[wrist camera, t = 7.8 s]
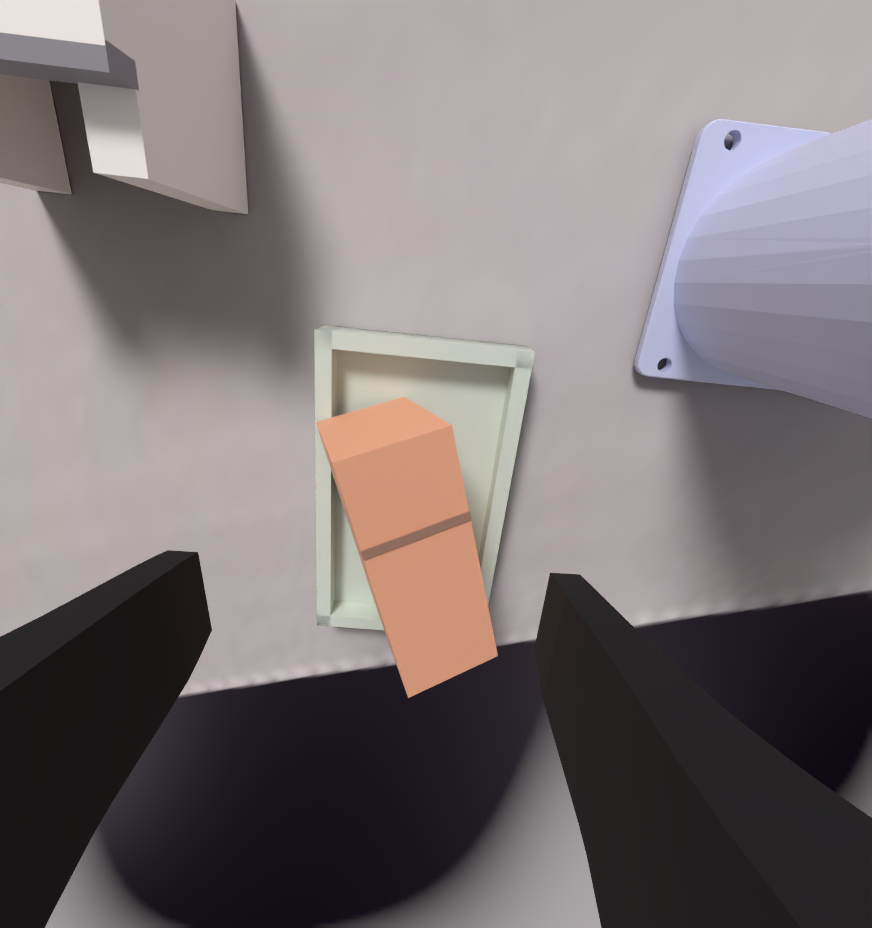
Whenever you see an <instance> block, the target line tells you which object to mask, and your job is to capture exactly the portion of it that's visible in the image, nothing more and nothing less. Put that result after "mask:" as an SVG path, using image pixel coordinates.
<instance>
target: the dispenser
mask: <svg viewBox="0 0 872 928" xmlns="http://www.w3.org/2000/svg"><path fill="white" fill-rule="evenodd" d="M49 80H50V81H58V82H67V83H75V84H78V89H79V94H80V100H81V106H82V111H83V117H84V122H85V128H86V134H87V139H88V145H89V151H90V156H91V162H92V168H93V173H96V174H99V175H102V176H106V177H109V178H112V179H115V180H118V181H121V182H125V183H128V184H131V185H134V186H137V187H140V188H144V189H147V190H150V191H153V192H156V193H159V194H163V195H166V196H169V197H172V198H175V199H178V200H182V201H185V202H188V203H191V204H194V205H197V206H201V207H204V208H207V209H210V210H214V211H223V212H232V213H241V214H248V200H247V184H246V167H245V151H244V135H243V118H242V102H241V85H240V69H239V53H238V36H237V20H236V3H235V0H0V183H4V184H9V185H13V186H18V187H22V188H26V189H31V190H35V191H44V192H53V193H62V194H71V195H72V193H71V188H70V183H69V178H68V173H67V168H66V163H65V158H64V153H63V147H62V142H61V137H60V132H59V127H58V122H57V117H56V112H55V107H54V102H53V97H52V92H51V87H50V81H49Z"/></svg>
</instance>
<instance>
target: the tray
mask: <svg viewBox="0 0 872 928" xmlns="http://www.w3.org/2000/svg"><path fill="white" fill-rule="evenodd" d="M534 354H535V352H534V351H533V350H531V349H530V348H529V347H527V346H521V345H511V344H501V343H492V342H482V341H472V340H463V339H453V338H443V337H433V336H424V335H414V334H404V333H395V332H385V331H375V330H365V329H356V328H346V327H336V326H327V325H324V326H322V327H319V328H317V329H314V356H315V455H316V555H317V625H320V626H333V627H346V628H359V629H372V630H384V628H383V625H382V623H381V620H380V617H379V614H378V611H377V608H376V605H375V602H374V599H373V596H372V593H371V590H370V587H369V584H368V581H367V578H366V575H365V572H364V569H363V566H362V562H361V559H360V556H359V553H358V550H357V547H356V544H355V541H354V538H353V535H352V532H351V529H350V526H349V523H348V520H347V517H346V514H345V511H344V507H343V504H342V501H341V498H340V495H339V492H338V489H337V486H336V483H335V480H334V477H333V474H332V471H331V468H330V465H329V462H328V459H327V455H326V452H325V449H324V446H323V443H322V440H321V437H320V434H319V431H318V428H317V425H316V422H318V421H321V420H325V419H328V418H332V417H335V416H339V415H342V414H346V413H349V412H353V411H356V410H360V409H363V408H366V407H370V406H373V405H377V404H380V403H384V402H387V401H391V400H394V399H398V398H401V397H406V398H408V399H409V400H411V401H413V402H414V403H416V404H418V405H419V406H421V407H423V408H424V409H426V410H428V411H429V412H431V413H433V414H434V415H436V416H438V417H439V418H441V419H443V420H444V421H446V422H447V423H449V424H451V425H452V428H453V433H454V438H455V443H456V448H457V453H458V458H459V463H460V468H461V473H462V478H463V483H464V488H465V493H466V498H467V503H468V508H469V511H470V514H471V519H472V520H471V523H472V528H473V533H474V538H475V543H476V548H477V553H478V558H479V563H480V568H481V573H482V578H483V583H484V588H485V593H486V598H487V603H489V598H490V593H491V587H492V582H493V576H494V571H495V565H496V560H497V555H498V549H499V544H500V538H501V533H502V528H503V522H504V517H505V511H506V506H507V501H508V495H509V490H510V484H511V479H512V473H513V468H514V463H515V457H516V452H517V446H518V441H519V436H520V430H521V425H522V419H523V414H524V408H525V403H526V398H527V392H528V387H529V381H530V376H531V371H532V365H533V360H534Z"/></svg>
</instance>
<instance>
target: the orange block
mask: <svg viewBox="0 0 872 928" xmlns="http://www.w3.org/2000/svg"><path fill="white" fill-rule="evenodd" d="M316 425H317V428H318V431H319V434H320V437H321V440H322V443H323V446H324V449H325V452H326V455H327V459H328V462H329V465H330V468H331V471H332V474H333V477H334V480H335V483H336V486H337V489H338V492H339V495H340V498H341V501H342V504H343V507H344V511H345V514H346V517H347V520H348V523H349V526H350V529H351V532H352V535H353V538H354V541H355V544H356V547H357V550H358V553H359V556H360V559H361V562H362V566H363V569H364V572H365V575H366V578H367V581H368V584H369V587H370V590H371V593H372V596H373V599H374V602H375V605H376V608H377V611H378V614H379V617H380V620H381V623H382V625H383V628H384V631H385V634H386V637H387V639H388V642H389V645H390V648H391V651H392V653H393V656H394V659H395V662H396V665H397V667H398V670H399V673H400V676H401V679H402V681H403V684H404V687H405V690H406V693H407V696H408V698H409V697H411V696H413V695H416V694H418V693H420V692H422V691H424V690H426V689H428V688H430V687H433V686H435V685H436V684H439V683H441V682H443V681H445V680H447V679H450V678H452V677H454V676H456V675H458V674H460V673H462V672H464V671H467V670H469V669H471V668H473V667H475V666H477V665H479V664H482V663H484V662H486V661H488V660H490V659H492V658H494V657H496V656H498V654H497V649H496V644H495V639H494V634H493V629H492V624H491V618H490V613H489V608H488V603H487V598H486V593H485V588H484V583H483V578H482V573H481V568H480V563H479V558H478V553H477V548H476V543H475V538H474V533H473V528H472V523H471V520H472V519H471V514H470V511H469V508H468V503H467V498H466V493H465V488H464V483H463V478H462V473H461V468H460V463H459V458H458V453H457V448H456V443H455V438H454V433H453V428H452V425H451V424H449V423H447V422H446V421H444V420H443V419H441V418H439V417H438V416H436V415H434V414H433V413H431V412H429V411H428V410H426V409H424V408H423V407H421V406H419V405H418V404H416V403H414V402H413V401H411V400H409V399H408V398H406V397H401V398H398V399H394V400H391V401H387V402H384V403H380V404H377V405H373V406H370V407H366V408H363V409H360V410H356V411H353V412H349V413H346V414H342V415H339V416H335V417H332V418H328V419H325V420H321V421H318V422H316Z"/></svg>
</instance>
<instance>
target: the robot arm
mask: <svg viewBox="0 0 872 928" xmlns="http://www.w3.org/2000/svg"><path fill="white" fill-rule="evenodd" d="M727 134H730V135H732V137H733V146H732V148H731V149H730V150H728V149H726V148H725V146H724V139H725V137H726V135H727ZM663 358H666V360H667V361H666V365H665V367H664V368H663V369H661V370H658V368H657V367H658V363H659V361H660V360H661V359H663ZM634 367H635V369H636V371H637V372H638V373H639V374H641V375H644V376H647V377H656V378H666V379H675V380H685V381H695V382H705V383H715V384H725V385H735V386H744V387H754V388H764V389H774V390H783V391H786V392H789V393H792V394H795V395H798V396H802V397H805V398H808V399H811V400H814V401H817V402H821V403H824V404H827V405H830V406H833V407H836V408H840V409H843V410H846V411H849V412H852V413H855V414H859V415H862V416H865V417H868V418H871V419H872V119H870V120H867V121H864V122H862V123H859V124H856V125H854V126H851V127H848V128H846V129H843V130H840V131H838V132H835V133H829V132H822V131H814V130H806V129H798V128H790V127H782V126H774V125H766V124H758V123H750V122H742V121H734V120H726V119H718V120H714V121H712V122H711V123H709V124H707V125H706V126H704V127H703V128H702V129H701V130H700V131H699V133H698V135H697V137H696V139H695V143H694V147H693V150H692V154H691V158H690V161H689V165H688V168H687V172H686V176H685V179H684V183H683V187H682V190H681V194H680V198H679V201H678V205H677V208H676V212H675V216H674V219H673V223H672V227H671V230H670V234H669V238H668V241H667V245H666V248H665V252H664V256H663V259H662V263H661V267H660V270H659V274H658V278H657V281H656V285H655V289H654V292H653V296H652V299H651V303H650V307H649V310H648V314H647V318H646V321H645V325H644V329H643V332H642V336H641V339H640V343H639V347H638V350H637V354H636V358H635V363H634ZM211 631H212V628H211V623H210V617H209V611H208V606H207V600H206V595H205V589H204V583H203V578H202V572H201V566H200V561H199V555H198V552H184V551H166V552H163V553H161V554H159V555H157V556H155V557H153V558H151V559H149V560H147V561H145V562H143V563H141V564H139V565H137V566H135V567H133V568H131V569H129V570H127V571H125V572H124V573H122V574H120V575H118V576H116V577H114V578H112V579H110V580H109V581H107V582H105V583H103V584H101V585H99V586H97V587H96V588H94V589H92V590H90V591H88V592H86V593H84V594H82V595H81V596H79V597H77V598H75V599H73V600H71V601H69V602H67V603H66V604H64V605H62V606H60V607H58V608H56V609H54V610H52V611H51V612H49V613H47V614H45V615H43V616H41V617H39V618H37V619H35V620H33V621H31V622H29V623H27V624H25V625H23V626H21V627H19V628H17V629H15V630H13V631H11V632H9V633H7V634H5V635H3V636H1V637H0V928H45V926H46V924H47V922H48V920H49V918H50V916H51V914H52V912H53V910H54V908H55V906H56V904H57V902H58V900H59V898H60V897H61V895H62V893H63V891H64V889H65V887H66V885H67V883H68V881H69V879H70V877H71V876H72V874H73V872H74V870H75V868H76V866H77V864H78V862H79V860H80V858H81V856H82V855H83V853H84V851H85V849H86V847H87V845H88V843H89V841H90V839H91V837H92V836H93V834H94V832H95V830H96V829H97V827H98V825H99V824H100V822H101V820H102V818H103V817H104V815H105V813H106V812H107V810H108V808H109V806H110V805H111V803H112V801H113V800H114V798H115V797H116V795H117V794H118V792H119V790H120V789H121V787H122V785H123V784H124V782H125V781H126V779H127V778H128V776H129V774H130V773H131V771H132V770H133V768H134V767H135V765H136V763H137V762H138V760H139V758H140V757H141V755H142V754H143V752H144V751H145V749H146V747H147V746H148V744H149V743H150V741H151V740H152V738H153V736H154V735H155V733H156V732H157V730H158V728H159V727H160V725H161V724H162V722H163V720H164V719H165V717H166V716H167V714H168V712H169V711H170V709H171V708H172V706H173V704H174V703H175V701H176V699H177V698H178V696H179V695H180V693H181V691H182V690H183V688H184V686H185V685H186V683H187V681H188V680H189V678H190V676H191V674H192V672H193V670H194V668H195V666H196V664H197V662H198V660H199V657H200V655H201V653H202V651H203V649H204V646H205V644H206V642H207V640H208V638H209V635H210V633H211ZM535 653H536V660H537V666H538V673H539V678H540V684H541V690H542V696H543V700H544V703H545V707H546V711H547V714H548V718H549V721H550V725H551V729H552V732H553V735H554V739H555V743H556V746H557V750H558V753H559V757H560V760H561V764H562V767H563V771H564V774H565V777H566V781H567V784H568V788H569V791H570V795H571V798H572V801H573V805H574V808H575V812H576V816H577V819H578V822H579V826H580V830H581V834H582V838H583V842H584V846H585V850H586V854H587V858H588V863H589V868H590V873H591V878H592V883H593V888H594V893H595V897H596V903H597V907H598V912H599V917H600V922H601V927H602V928H872V818H871V817H869V816H868V815H866V814H865V813H864V812H862V811H861V810H859V809H858V808H856V807H855V806H854V805H852V804H851V803H849V802H848V801H846V800H845V799H843V798H842V797H841V796H839V795H837V794H836V793H835V792H833V791H832V790H830V789H829V788H828V787H826V786H825V785H823V784H822V783H821V782H819V781H818V780H817V779H815V778H814V777H812V776H811V775H810V774H808V773H807V772H805V771H804V770H803V769H801V768H800V767H799V766H797V765H796V764H795V763H793V762H792V761H791V760H789V759H788V758H787V757H785V756H784V755H783V754H782V753H780V752H779V751H778V750H776V749H775V748H774V747H772V746H771V745H770V744H768V743H767V742H766V741H765V740H763V739H762V738H761V737H759V736H758V735H757V734H756V733H754V732H753V731H752V730H750V729H749V728H748V727H747V726H745V725H744V724H743V723H741V722H740V721H739V720H738V719H737V718H735V717H734V716H733V715H732V714H730V713H729V712H728V711H727V710H725V709H724V708H723V707H722V706H721V705H719V704H718V703H717V702H716V701H715V700H713V699H712V698H711V697H710V696H709V695H708V694H707V693H705V692H704V691H703V690H702V689H701V688H700V687H698V686H697V685H696V684H695V683H694V682H693V681H691V680H690V679H689V678H688V677H687V676H686V675H684V674H683V673H682V672H681V671H680V670H679V669H678V668H677V667H676V666H674V665H673V664H672V663H671V662H670V661H669V660H668V659H667V658H666V657H665V656H664V655H662V654H661V653H660V652H659V651H658V650H657V649H656V648H655V647H654V646H653V645H652V644H651V643H650V642H649V641H648V640H646V639H645V638H644V637H643V636H642V635H641V634H640V633H639V632H638V631H637V630H636V629H635V628H634V627H633V626H632V625H631V624H630V623H629V622H628V621H627V620H626V619H625V618H624V617H623V616H622V615H621V614H620V613H619V612H618V611H617V610H616V609H615V608H614V607H613V606H611V605H610V604H609V603H608V602H607V601H606V600H605V599H604V598H603V597H602V596H601V595H600V594H599V593H598V592H597V591H596V590H595V589H594V588H593V587H592V586H591V585H590V584H589V583H588V582H587V581H586V580H585V579H584V578H583V577H582V576H581V575H577V574H560V573H550V576H549V581H548V586H547V591H546V596H545V601H544V605H543V610H542V615H541V620H540V625H539V629H538V634H537V639H536V644H535Z"/></svg>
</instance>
